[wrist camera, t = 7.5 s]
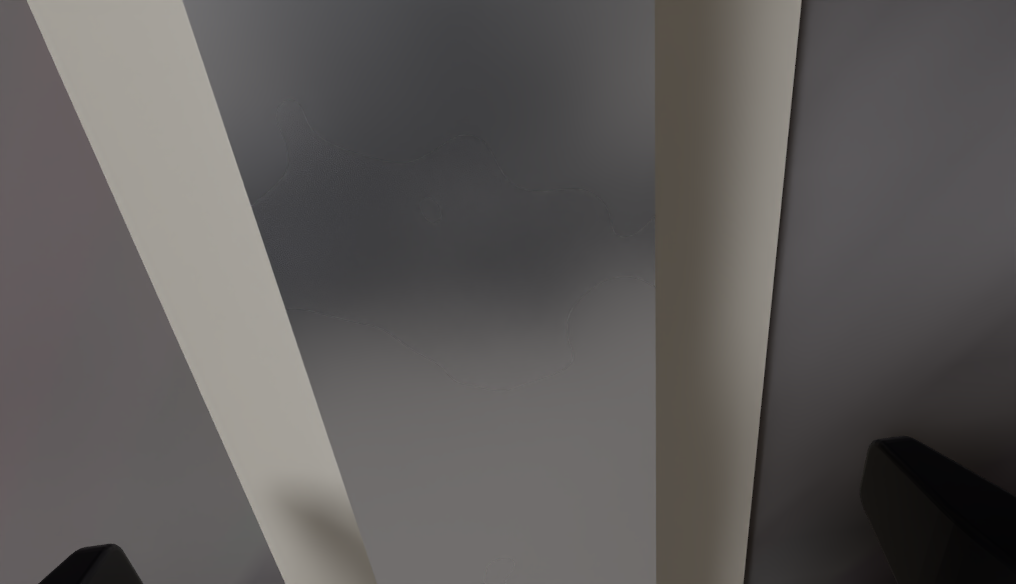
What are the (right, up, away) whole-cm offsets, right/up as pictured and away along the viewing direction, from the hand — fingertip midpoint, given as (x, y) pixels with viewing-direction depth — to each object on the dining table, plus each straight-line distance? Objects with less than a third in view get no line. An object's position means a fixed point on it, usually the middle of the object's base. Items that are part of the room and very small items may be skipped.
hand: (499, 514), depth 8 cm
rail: (0, +1, +2) cm, 2 cm away
